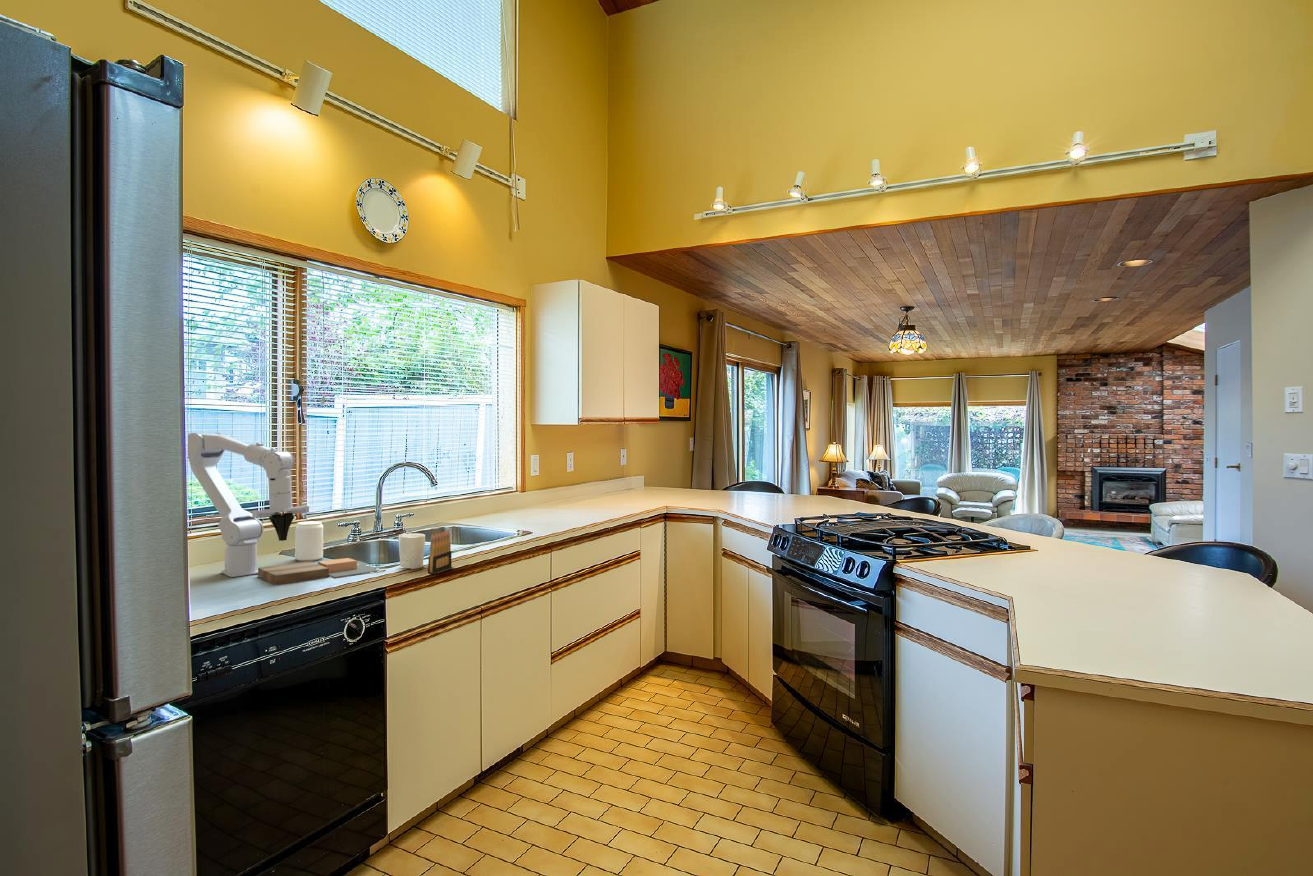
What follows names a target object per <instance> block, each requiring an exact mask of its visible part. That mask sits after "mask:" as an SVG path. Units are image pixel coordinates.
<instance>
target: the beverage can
mask: <svg viewBox="0 0 1313 876" xmlns="http://www.w3.org/2000/svg"><path fill="white" fill-rule="evenodd" d="M322 523H323V522H322V521H317V520H312V521H311V520H309V521H299V522H297V523H296V526H295V529H294V530H295V534H294V536H295V537H294V539H295V540H294V541H295V542H294V543H295V544H294V547H295V548H294V558H295V559H296V560H297V561H299V562H307V561H310V562H314V561H318V560H320V559H322V558H323V557H324V525H323V524H322ZM295 559H294V560H295Z"/></svg>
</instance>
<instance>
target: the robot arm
mask: <svg viewBox="0 0 1313 876" xmlns="http://www.w3.org/2000/svg"><path fill="white" fill-rule="evenodd" d="M187 435H188V457H187V459H188V461H189V465H190V469H191V471H192V473H193V475H194V476H195V478H196V479H197V482H198V483H199V484H200V486H201V487H202V489H203V490H204V492H205V494H206V495H207V497H208V498H209V500H210V501H211V503H212V505H213V506H214V508H215V510H217V512H218V514H219V516H220V517H221V519H220V521H219V523H218V524H217V527H218V528H219V530H220V535H221V538H222V540H223V541H224V542H225V545H226V547H225V551H224V569H222V570H221V571H220V573H222V574H224V575H225V576H227V577H230V578H233V577H234V578H235V577H243V576H249V575H256V574H257V575H258V568H257V560H258V559H257V557H258V555H257V553H258V542H259V541H260V540H259V539H260V538H261V537H262V535H263V533H264V525H263V523H262V521H261V520H260V519H258V518H268V519H269V521H270V522H271V524H272V525H273V527H274V529H275V533H276V535H277V538H278V541H281V542H282V541H287V538H288V533H289V529H290V527H291V524H292V523H293V520H294V518H295V514H304V513H305V514H307V513H310V506H309V505H302V506H301V505H299V506H293V493H292V492H293V490H292V473H291V470H292V469H294V467H295V464H296V459H295V457H294V455H293V454H292V453H291V452H289V451H288V450H285V451H284V450H283V451H278V449H277V448H276V447H268V446H264V443H263V442H256V443H255V442H253V443H250V444H248V443H246V442H243V441H240V440H238V439H236V438H233V437H231V436H229V435H228V434H222V433H221V432H213V433H211V432H210V433H209V432H208V433H205V432H204V433H203V432H202V433H200V432H199V433H198V432H190V433H188V434H187ZM225 451H227V452H230V453H233V454H237V455H242V456H243V458H244V460H245V461H246V462H247V463H250V464H254V465H257V466H259V467H262V468H263V469H264V471H265V473H266V477H267V478H268V481H267V482H268V498H269V499H268V501H269V509H261V510H260V509H259V510H252V511H251V512H250V511H248V510H245V509H244V508H242V505H241V504H240V503H239V502H238V500H237V498H236V497H235V496H234V494H233V492H232V490H231V489H230V487H229V486H228V485H227V483H226V482H225V480H224V478H223V477H222V475H221V473H220V472H219V470H218V469H217V467H216V465H217V464H218V463H219V462H220V461H221V458H222V456H223V455H224V453H225Z"/></svg>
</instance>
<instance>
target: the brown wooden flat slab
mask: <svg viewBox="0 0 1313 876" xmlns="http://www.w3.org/2000/svg"><path fill="white" fill-rule="evenodd" d="M257 570H258V574H257V577H259V578H260V579H263V580H265V581H268V582H269V583H271V584H273V585H276V586H277V585H283V584H289V583H297V582H304V581H311V580H316V579H322V578H324V579H325V578H329V577H330V576H329V568H327V567H324V566H321V565H318V563H315V562H314V561H299V562H294V563H286V564H285V563H284V564H279V565H278V564H277V565H276V564H275V565H269V566H261V567H257Z"/></svg>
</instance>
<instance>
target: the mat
mask: <svg viewBox="0 0 1313 876" xmlns="http://www.w3.org/2000/svg"><path fill="white" fill-rule="evenodd" d="M356 561H357V564H359V565H357V569H350V570H343V571H336V572H329V577H330V578H333V579H340V578H346V577H352V576H359V575H365V574H366V573H367V574H371V573H370V572H374V573H378V572H377V571H379V570H376V569H374V568H380V566H376V567H370V565H371V564H370V563H367V562H364V561H360V560H356ZM366 565H369V567H367V566H366Z"/></svg>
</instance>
